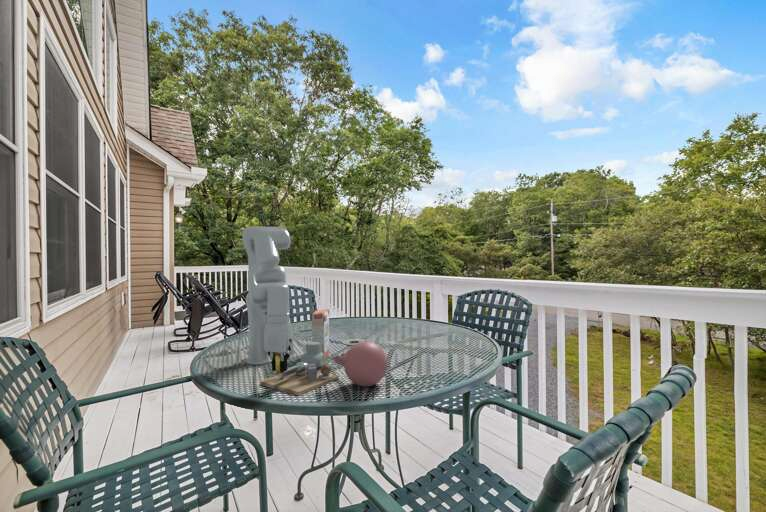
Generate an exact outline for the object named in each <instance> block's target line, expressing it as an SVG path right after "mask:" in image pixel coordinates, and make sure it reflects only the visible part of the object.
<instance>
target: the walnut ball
mask: <svg viewBox="0 0 766 512" xmlns="http://www.w3.org/2000/svg"><path fill="white" fill-rule="evenodd" d="M319 369H320V371H319V372H321V373H322V374H323V375H329V374H330V373H332V367H331V366H330V364H327V363H324V365H323V366H321V367H320V368H319Z"/></svg>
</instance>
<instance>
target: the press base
mask: <svg viewBox="0 0 766 512" xmlns="http://www.w3.org/2000/svg"><path fill="white" fill-rule="evenodd" d="M336 379H337V380H339V375H337V374H333V372H331V373H330V374H329V375H323V374H322V373H321V371H318V368H316V365H315V364H307V370H300V371H297V372H295V373H293V374H290V375H288V376H285V377H283V378H280V377H277V375H275V376H272V377H269V378H266V379H263V380H262V379H261V380H260V381H259V385H261V386H264V387H267V388H271V389H275V390H278V391H280V392H281V391H282V392H284V393H285V392H286V393H289V394H292V395H296V396H299V397H300V396H302V395H304V394H307V393H309V392H311V391H314V390H316V389H318V388H321V387H323V386H325V385H327V384H330V383H332V382H335V381H336ZM334 380H335V381H334Z"/></svg>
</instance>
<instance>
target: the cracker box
mask: <svg viewBox="0 0 766 512" xmlns="http://www.w3.org/2000/svg"><path fill="white" fill-rule="evenodd" d="M311 342H319V343H320V351H321V353H323V354H325V356H326V357H328V354H329V353H330V310H329V309H327V308H325V309H324V308H322V309H317V310H315V311H314V312H313V313H312V314H311Z"/></svg>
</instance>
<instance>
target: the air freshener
mask: <svg viewBox="0 0 766 512" xmlns="http://www.w3.org/2000/svg"><path fill="white" fill-rule="evenodd" d="M326 359H327V356H325V354H323V353H321V351H320V343H319V342H312V341H309V342H306V344H305V353H304V354H302V357H301V359H300V362H308V364H315V365H316V368H317V369H321V367H322V366H323V365H324V364H326Z"/></svg>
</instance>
